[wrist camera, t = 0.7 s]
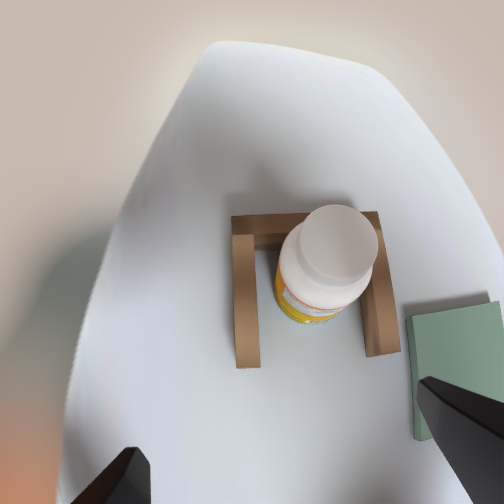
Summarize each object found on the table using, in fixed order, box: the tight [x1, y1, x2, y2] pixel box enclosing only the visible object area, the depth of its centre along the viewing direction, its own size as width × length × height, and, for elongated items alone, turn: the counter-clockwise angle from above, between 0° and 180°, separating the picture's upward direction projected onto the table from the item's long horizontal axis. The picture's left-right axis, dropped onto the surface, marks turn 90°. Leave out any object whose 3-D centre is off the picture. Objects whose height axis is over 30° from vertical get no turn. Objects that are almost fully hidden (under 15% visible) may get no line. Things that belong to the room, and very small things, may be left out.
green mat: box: [406, 301, 504, 441], centre depth 21 cm, size 10×10×1 cm
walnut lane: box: [231, 211, 401, 369], centre depth 22 cm, size 10×11×3 cm
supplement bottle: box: [274, 204, 378, 325], centre depth 19 cm, size 5×5×10 cm
